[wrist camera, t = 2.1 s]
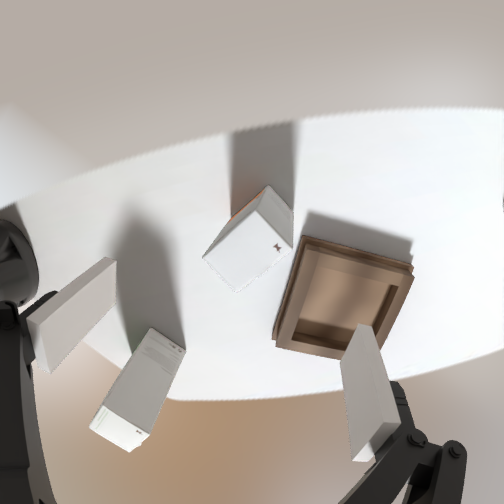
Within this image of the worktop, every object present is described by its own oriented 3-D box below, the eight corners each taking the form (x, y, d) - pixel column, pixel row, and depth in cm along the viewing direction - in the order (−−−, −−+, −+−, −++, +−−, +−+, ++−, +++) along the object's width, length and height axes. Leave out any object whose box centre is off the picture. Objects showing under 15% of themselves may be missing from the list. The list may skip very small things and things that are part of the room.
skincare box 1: (151, 325, 42) (101, 401, 28) (190, 351, 43) (153, 435, 29) (130, 356, 45) (85, 427, 31) (165, 380, 46) (129, 455, 32)
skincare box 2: (268, 183, 34) (256, 206, 22) (294, 212, 34) (296, 249, 23) (228, 218, 36) (199, 258, 24) (253, 246, 36) (237, 296, 25)
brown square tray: (272, 335, 40) (270, 348, 38) (302, 234, 35) (303, 243, 32) (369, 354, 40) (373, 368, 37) (411, 264, 35) (419, 274, 32)
